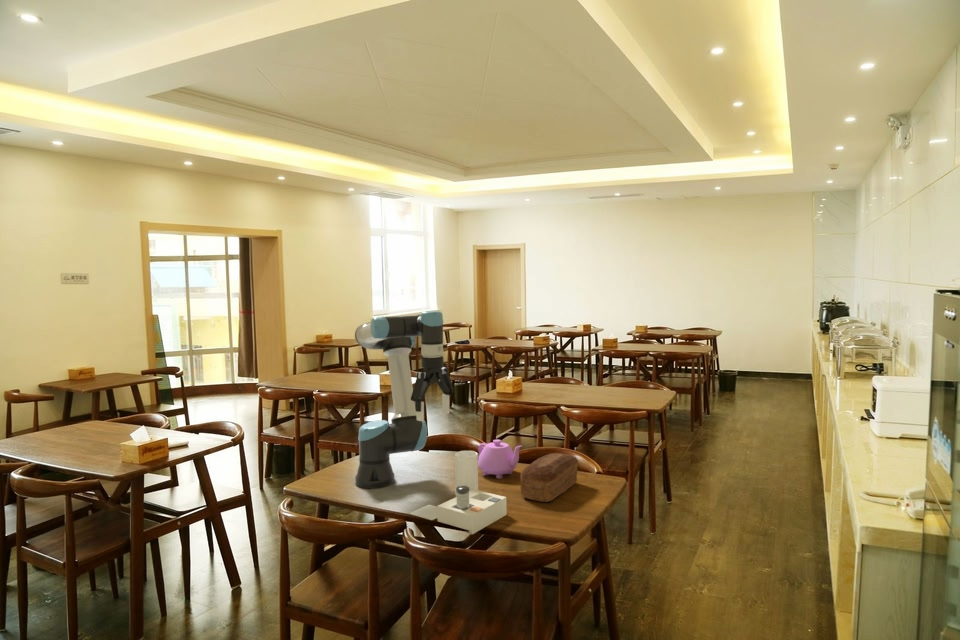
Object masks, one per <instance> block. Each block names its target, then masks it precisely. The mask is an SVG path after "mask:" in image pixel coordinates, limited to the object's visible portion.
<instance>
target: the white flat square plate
mask: <svg viewBox="0 0 960 640" xmlns="http://www.w3.org/2000/svg"><path fill="white" fill-rule="evenodd" d="M437 506H438V505H437ZM437 506H436V505H432V504H427V505H425V506H422V507H420V508H418V509H416V510H414V511H412V512H409V515H412V516H416V517H420V518H423V519H426V520H430V521H434V520H436V519H438V516H437Z"/></svg>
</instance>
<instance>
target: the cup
mask: <svg viewBox="0 0 960 640" xmlns="http://www.w3.org/2000/svg"><path fill="white" fill-rule="evenodd" d="M478 454H479V453H478V452H476V451H475V450H460V451H457V452H455V453H454V479H455V481H454V482H455V483H454V484H455V486H454V487H455V490H454V492H455V497H457V492H456V487H458V486H468V487H469V491H470V490H472V489H475V490H479V466H478V456H479V455H478Z"/></svg>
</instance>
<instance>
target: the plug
mask: <svg viewBox="0 0 960 640" xmlns="http://www.w3.org/2000/svg"><path fill="white" fill-rule="evenodd" d="M456 492H457V509H460V510H464V511H465V510H467V509H469V487H468V486H458V487H456Z"/></svg>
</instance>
